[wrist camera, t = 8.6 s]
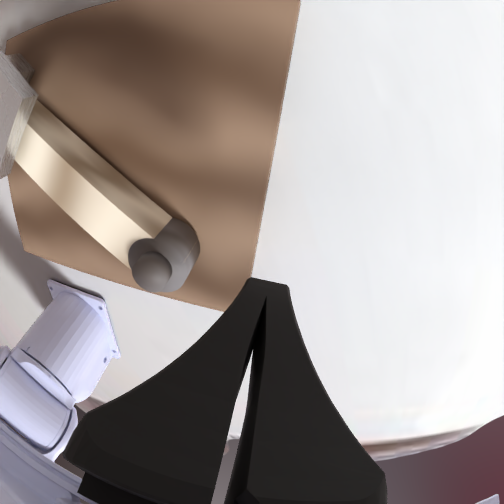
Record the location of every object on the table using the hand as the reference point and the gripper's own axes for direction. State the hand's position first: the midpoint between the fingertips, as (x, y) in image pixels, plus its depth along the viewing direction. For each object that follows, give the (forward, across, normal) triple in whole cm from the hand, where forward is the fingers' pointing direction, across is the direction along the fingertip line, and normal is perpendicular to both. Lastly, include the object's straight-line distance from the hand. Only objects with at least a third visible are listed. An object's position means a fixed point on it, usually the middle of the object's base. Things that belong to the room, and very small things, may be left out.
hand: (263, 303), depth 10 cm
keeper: (+7, +18, -7) cm, 21 cm away
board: (+8, +12, -2) cm, 15 cm away
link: (+7, +11, 0) cm, 13 cm away
